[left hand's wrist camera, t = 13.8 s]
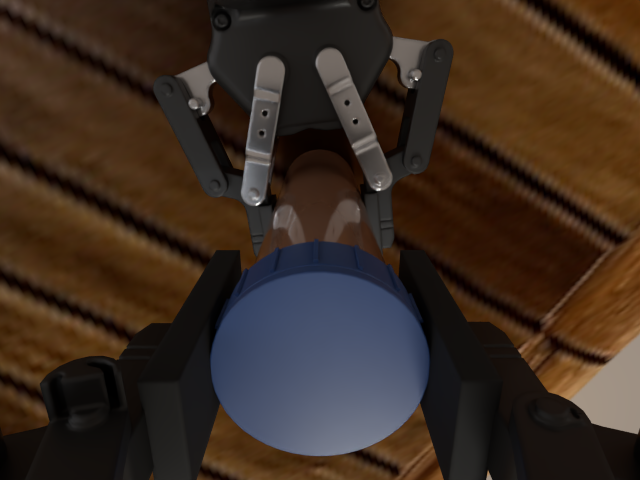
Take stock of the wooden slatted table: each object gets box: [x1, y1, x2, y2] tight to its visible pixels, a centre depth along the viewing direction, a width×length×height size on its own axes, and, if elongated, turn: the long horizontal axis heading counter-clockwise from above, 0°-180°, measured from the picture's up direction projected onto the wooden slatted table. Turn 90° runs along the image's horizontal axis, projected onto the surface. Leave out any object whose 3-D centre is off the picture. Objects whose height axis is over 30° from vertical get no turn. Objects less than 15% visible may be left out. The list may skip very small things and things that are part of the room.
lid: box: [210, 239, 430, 456], centre depth 11 cm, size 5×5×2 cm
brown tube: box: [255, 149, 385, 264], centre depth 20 cm, size 5×5×19 cm
